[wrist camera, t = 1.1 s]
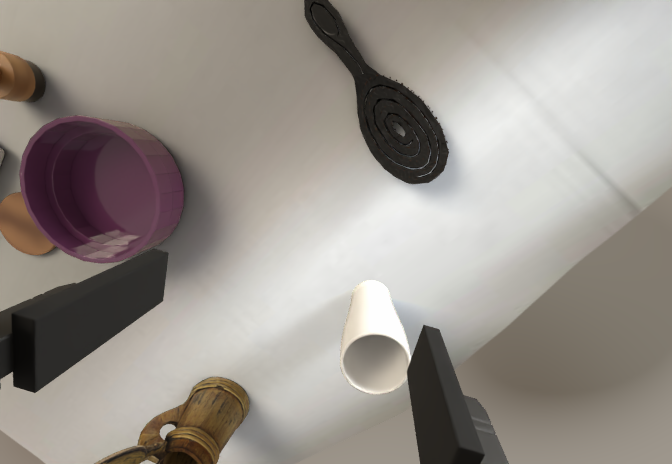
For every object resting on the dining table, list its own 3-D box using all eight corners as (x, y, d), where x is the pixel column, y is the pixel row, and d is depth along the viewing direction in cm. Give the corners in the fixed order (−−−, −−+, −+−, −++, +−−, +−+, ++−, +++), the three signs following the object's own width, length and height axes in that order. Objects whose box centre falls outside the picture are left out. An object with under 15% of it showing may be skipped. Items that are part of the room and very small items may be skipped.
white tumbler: (404, 304, 44) (426, 376, 30) (363, 327, 45) (364, 407, 31) (378, 264, 43) (387, 318, 29) (336, 289, 45) (324, 353, 30)
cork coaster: (-2, 187, 45) (-7, 188, 44) (59, 196, 45) (55, 197, 44) (5, 248, 47) (0, 250, 46) (63, 258, 47) (60, 259, 46)
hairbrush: (334, -43, 33) (469, 156, 35) (338, -22, 37) (460, 157, 39) (273, 13, 35) (406, 200, 37) (283, 28, 39) (403, 197, 41)
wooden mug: (188, 347, 48) (90, 454, 31) (260, 400, 50) (205, 532, 32) (158, 386, 50) (50, 507, 33) (228, 435, 51) (159, 578, 34)
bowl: (61, 113, 42) (12, 106, 36) (189, 131, 41) (160, 126, 35) (68, 240, 46) (26, 251, 40) (185, 258, 45) (159, 272, 39)
